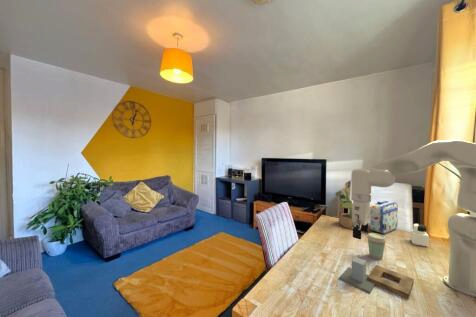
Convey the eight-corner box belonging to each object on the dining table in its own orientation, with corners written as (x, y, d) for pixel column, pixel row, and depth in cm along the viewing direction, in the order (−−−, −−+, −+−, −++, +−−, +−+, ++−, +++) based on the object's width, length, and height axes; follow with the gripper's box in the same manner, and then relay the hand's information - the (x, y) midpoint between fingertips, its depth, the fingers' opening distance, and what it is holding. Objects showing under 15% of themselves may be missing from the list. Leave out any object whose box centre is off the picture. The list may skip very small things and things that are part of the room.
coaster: (377, 280, 88) (377, 278, 88) (369, 293, 80) (369, 291, 80) (348, 268, 96) (348, 266, 96) (339, 279, 89) (339, 277, 88)
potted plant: (344, 220, 164) (345, 185, 163) (367, 227, 150) (369, 188, 148) (329, 225, 152) (330, 187, 150) (353, 234, 137) (354, 192, 136)
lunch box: (383, 237, 132) (384, 205, 131) (367, 231, 141) (368, 201, 140) (399, 228, 147) (400, 200, 146) (383, 224, 155) (384, 197, 155)
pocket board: (413, 283, 86) (413, 278, 86) (408, 299, 77) (408, 294, 77) (375, 268, 96) (375, 264, 96) (367, 281, 87) (367, 276, 87)
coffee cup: (388, 262, 102) (389, 239, 102) (370, 260, 104) (371, 238, 103) (380, 253, 111) (381, 233, 110) (363, 252, 112) (364, 231, 112)
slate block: (365, 278, 88) (366, 261, 88) (362, 282, 85) (363, 265, 84) (354, 273, 91) (355, 257, 91) (351, 277, 88) (351, 260, 88)
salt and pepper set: (425, 242, 125) (425, 224, 124) (428, 247, 119) (429, 227, 118) (410, 239, 128) (411, 222, 128) (412, 244, 122) (413, 225, 122)
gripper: (364, 202, 78) (364, 244, 79) (376, 195, 89) (375, 231, 90) (344, 199, 84) (344, 238, 84) (357, 193, 95) (357, 227, 96)
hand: (360, 234), depth 87 cm, fingers open, 9 cm apart
